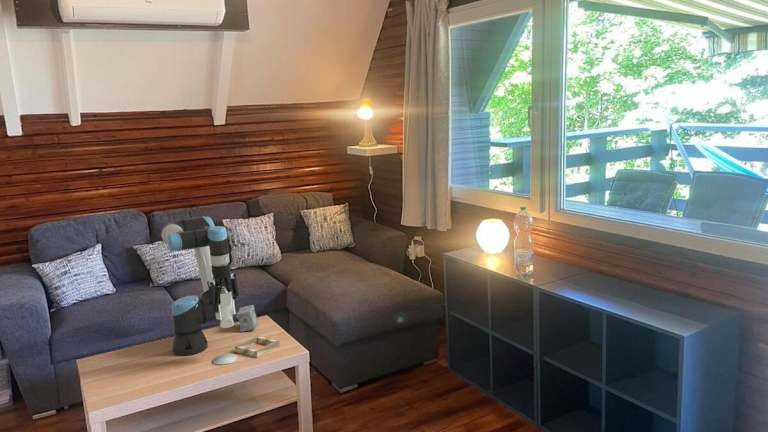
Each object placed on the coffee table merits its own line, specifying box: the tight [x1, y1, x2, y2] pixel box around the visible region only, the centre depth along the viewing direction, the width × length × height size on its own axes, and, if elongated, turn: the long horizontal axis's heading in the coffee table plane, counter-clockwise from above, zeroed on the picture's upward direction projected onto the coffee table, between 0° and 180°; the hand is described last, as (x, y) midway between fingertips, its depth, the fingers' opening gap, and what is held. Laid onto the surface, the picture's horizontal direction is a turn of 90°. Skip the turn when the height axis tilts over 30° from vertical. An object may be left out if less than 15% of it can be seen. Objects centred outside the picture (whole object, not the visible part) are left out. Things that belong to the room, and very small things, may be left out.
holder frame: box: [234, 335, 281, 358], centre depth 270 cm, size 14×14×2 cm
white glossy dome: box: [212, 353, 238, 366], centre depth 260 cm, size 10×10×1 cm
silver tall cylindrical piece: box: [219, 289, 235, 329], centre depth 258 cm, size 7×7×15 cm
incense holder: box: [235, 304, 258, 333], centre depth 295 cm, size 10×8×10 cm
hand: (225, 316), depth 258 cm, fingers closed on silver tall cylindrical piece, 7 cm apart
